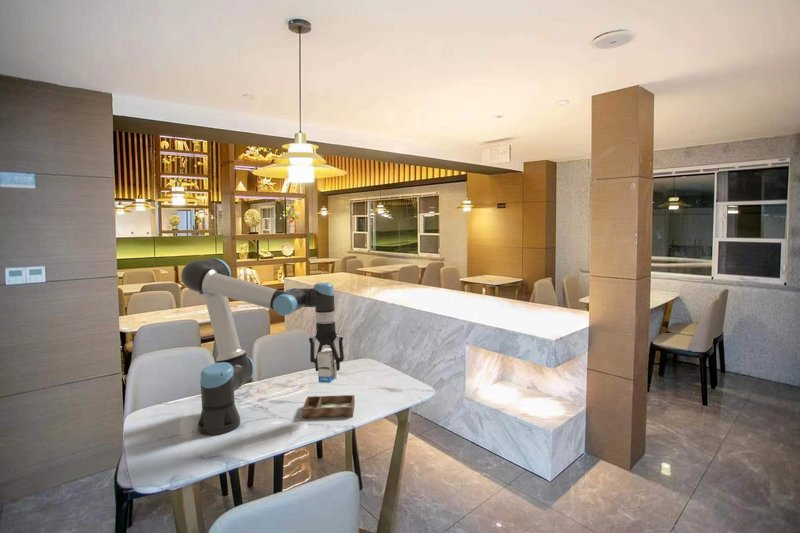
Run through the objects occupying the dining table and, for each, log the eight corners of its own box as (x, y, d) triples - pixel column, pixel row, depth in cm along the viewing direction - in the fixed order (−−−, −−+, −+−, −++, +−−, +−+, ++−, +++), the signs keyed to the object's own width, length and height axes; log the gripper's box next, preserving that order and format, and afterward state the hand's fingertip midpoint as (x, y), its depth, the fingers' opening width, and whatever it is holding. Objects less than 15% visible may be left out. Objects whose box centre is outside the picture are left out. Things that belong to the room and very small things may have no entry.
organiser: (302, 418, 175) (302, 408, 175) (307, 405, 188) (307, 396, 188) (352, 417, 176) (352, 407, 176) (354, 404, 189) (354, 395, 189)
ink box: (329, 383, 171) (328, 354, 170) (317, 382, 172) (316, 353, 171) (337, 376, 179) (336, 348, 178) (326, 375, 181) (325, 347, 180)
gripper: (299, 324, 170) (302, 382, 172) (348, 322, 170) (350, 381, 172) (303, 320, 178) (306, 376, 180) (350, 319, 178) (352, 374, 180)
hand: (328, 378), depth 176 cm, fingers closed on ink box, 6 cm apart
